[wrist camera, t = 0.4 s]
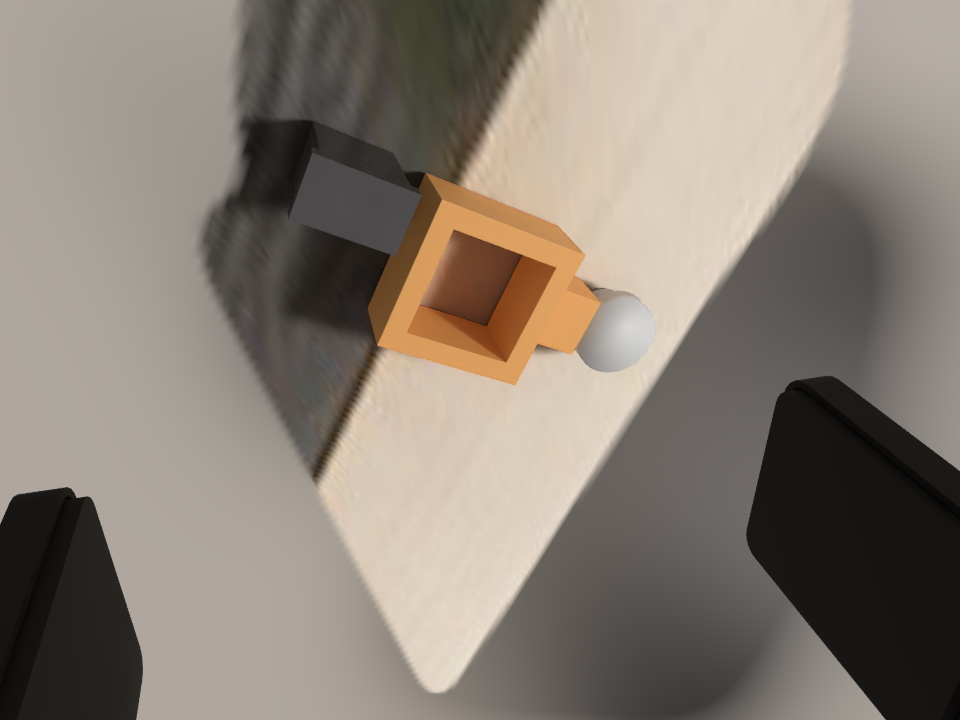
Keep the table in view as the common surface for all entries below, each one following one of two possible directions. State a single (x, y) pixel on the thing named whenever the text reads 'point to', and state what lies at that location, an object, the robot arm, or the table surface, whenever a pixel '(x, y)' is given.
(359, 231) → the grey rectangular block
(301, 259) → the table surface
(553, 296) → the orange handled frame
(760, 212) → the table surface
